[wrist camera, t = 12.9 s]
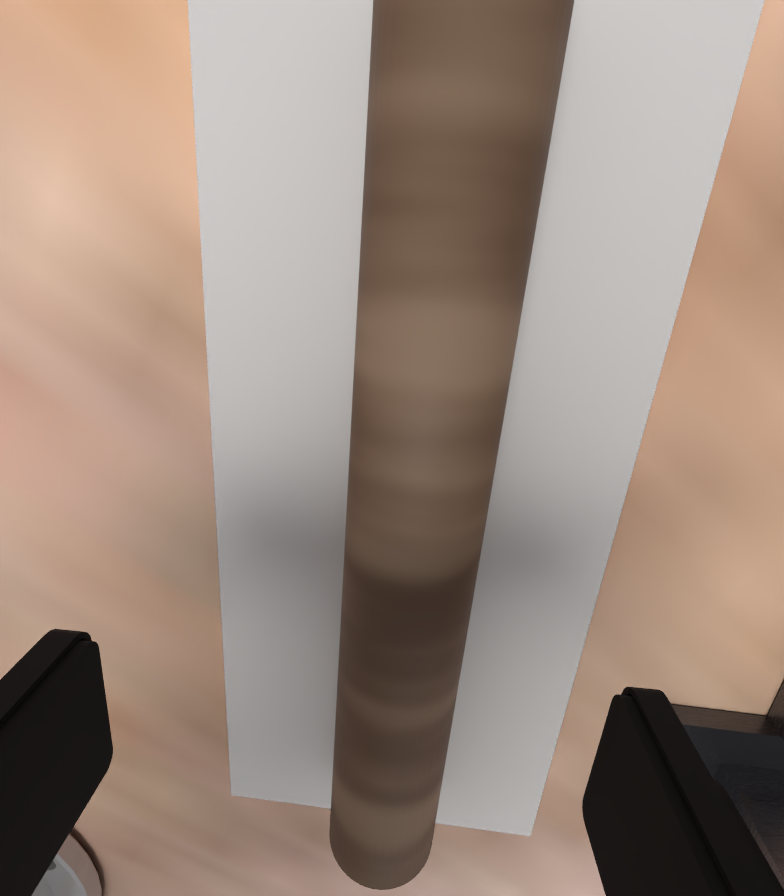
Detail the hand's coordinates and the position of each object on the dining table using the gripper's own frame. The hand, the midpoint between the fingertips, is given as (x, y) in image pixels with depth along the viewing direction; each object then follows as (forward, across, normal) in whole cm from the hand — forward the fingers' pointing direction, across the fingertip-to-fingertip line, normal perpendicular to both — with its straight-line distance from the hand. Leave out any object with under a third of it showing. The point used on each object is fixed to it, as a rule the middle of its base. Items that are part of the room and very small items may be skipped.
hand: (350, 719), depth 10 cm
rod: (+7, -1, -1) cm, 7 cm away
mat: (+7, -1, -1) cm, 8 cm away
